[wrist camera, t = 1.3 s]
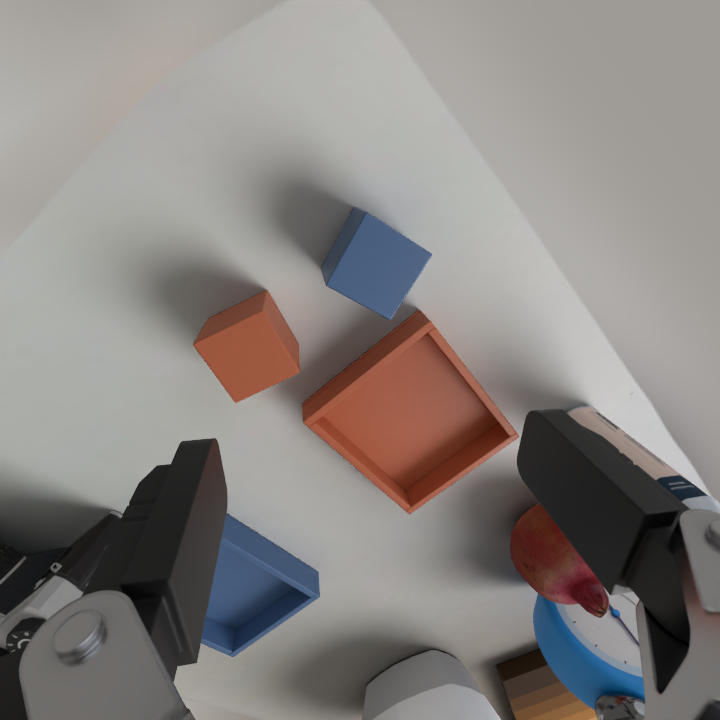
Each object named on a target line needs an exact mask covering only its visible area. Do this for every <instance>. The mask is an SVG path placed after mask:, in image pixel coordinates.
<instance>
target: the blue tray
mask: <svg viewBox="0 0 720 720" xmlns="http://www.w3.org/2000/svg"><path fill="white" fill-rule="evenodd" d="M319 597H320V591H319V574H318V572H317V571H316V570H314V569H313V568H311V567H309V566H308V565H306V564H305V563H303V562H302V561H300V560H299V559H297V558H295V557H294V556H292V555H291V554H289V553H288V552H286V551H284V550H283V549H281V548H280V547H278V546H277V545H275V544H274V543H272V542H270V541H269V540H267V539H266V538H264V537H263V536H261V535H260V534H258V533H256V532H255V531H253V530H252V529H250V528H249V527H247V526H245V525H244V524H242V523H241V522H239V521H238V520H236V519H235V518H233V517H231V516H230V515H228V514H227V513H226V519H225V524H224V529H223V534H222V539H221V544H220V549H219V554H218V559H217V564H216V569H215V574H214V579H213V584H212V589H211V594H210V599H209V604H208V609H207V614H206V619H205V624H204V629H203V634H202V639H201V643H202V644H204V645H206V646H208V647H211V648H213V649H215V650H218V651H220V652H222V653H224V654H227V655H229V656H231V657H234V656H235V655H237V654H238V653H240V652H241V651H243V650H244V649H245V648H247V647H248V646H250V645H251V644H253V643H254V642H255V641H257V640H258V639H260V638H261V637H263V636H264V635H266V634H267V633H268V632H270V631H271V630H273V629H274V628H276V627H277V626H279V625H280V624H281V623H283V622H284V621H286V620H287V619H289V618H290V617H292V616H293V615H294V614H296V613H297V612H299V611H300V610H302V609H303V608H304V607H306V606H307V605H309V604H310V603H312V602H313V601H315V600H316V599H317V598H319Z"/></svg>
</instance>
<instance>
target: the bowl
mask: <svg viewBox="0 0 720 720" xmlns="http://www.w3.org/2000/svg"><path fill="white" fill-rule="evenodd" d="M362 720H501V719H500V717H499V716H498V715H497V713H496V712H495V710H494V709H493V707H492V706H491V704H490V703H489V702H488V700H487V699H486V697H485V696H484V695H483V693H482V692H481V691H480V689H479V688H478V686H477V685H476V683H475V682H474V680H473V679H472V677H471V676H470V675H469V673H468V672H467V670H466V669H465V667H464V666H463V664H462V663H461V662H460V661H459V660H457V659H456V658H454V657H452V656H450V655H449V654H446V653H443V652H440V651H437V650H429V651H426V652H423V653H420V654H418V655H415V656H412V657H410V658H408V659H406V660H403V661H401V662H399V663H397V664H395V665H393V666H392V667H390V668H389V669H387V670H386V671H384V672H383V673H381V674H380V675H379V676H377V677H376V678H375V679H374V680H373V681H372V682H370V683H369V684H368V685H367V687H366V694H365V701H364V709H363V716H362Z"/></svg>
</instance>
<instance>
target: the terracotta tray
mask: <svg viewBox="0 0 720 720" xmlns="http://www.w3.org/2000/svg"><path fill="white" fill-rule="evenodd" d="M302 407H303V423H305V424H306V425H307V426H308V427H309V428H310V429H311V430H313V431H314V432H315V433H316V434H317V435H318V436H320V437H321V438H322V439H323V440H324V441H325V442H326V443H328V444H329V445H330V446H331V447H332V448H333V449H335V450H336V451H337V452H338V453H339V454H340V455H341V456H343V457H344V458H345V459H346V460H347V461H348V462H350V463H351V464H352V465H353V466H354V467H355V468H356V469H358V470H359V471H360V472H361V473H362V474H363V475H365V476H366V477H367V478H368V479H369V480H370V481H372V482H373V483H374V484H375V485H376V486H377V487H378V488H380V489H381V490H382V491H383V492H384V493H385V494H387V495H388V496H389V497H390V498H391V499H392V500H393V501H395V502H396V503H397V504H398V505H399V506H400V507H402V508H403V509H404V510H405V511H406V512H407V513H408V514H411V513H412V512H413V511H415V510H416V509H418V508H419V507H420V506H422V505H423V504H425V503H426V502H428V501H429V500H430V499H432V498H433V497H435V496H436V495H438V494H439V493H440V492H442V491H443V490H445V489H446V488H447V487H449V486H450V485H452V484H453V483H455V482H456V481H457V480H459V479H460V478H462V477H463V476H464V475H466V474H467V473H469V472H470V471H472V470H473V469H474V468H476V467H477V466H479V465H480V464H482V463H483V462H484V461H486V460H487V459H489V458H490V457H491V456H493V455H494V454H496V453H497V452H499V451H500V450H501V449H503V448H504V447H506V446H507V445H508V444H510V443H511V442H513V441H514V440H516V439H517V438H518V437H519V435H518V434H517V432H516V431H515V430H514V429H513V427H512V426H511V425H510V423H509V422H508V421H507V419H506V418H505V417H504V416H503V414H502V413H501V412H500V410H499V409H498V408H497V407H496V405H495V404H494V403H493V401H492V400H491V399H490V397H489V396H488V395H487V394H486V392H485V391H484V390H483V388H482V387H481V386H480V384H479V383H478V382H477V381H476V379H475V378H474V377H473V375H472V374H471V373H470V372H469V370H468V369H467V368H466V366H465V365H464V364H463V362H462V361H461V360H460V359H459V357H458V356H457V355H456V353H455V352H454V351H453V349H452V348H451V347H450V346H449V344H448V343H447V342H446V340H445V339H444V338H443V337H442V335H441V334H440V333H439V331H438V330H437V329H436V327H435V326H434V325H433V324H432V322H431V321H430V320H429V319H428V318H427V317H426V316H425V315H424V314H423V313H422V312H421V311H420V310H418V311H416V312H415V313H414V314H413V315H411V316H410V317H409V318H408V319H406V320H405V321H404V322H403V323H401V324H400V325H399V326H398V327H397V328H395V329H394V330H393V331H392V332H390V333H389V334H388V335H387V336H385V337H384V338H383V339H382V340H380V341H379V342H378V343H377V344H376V345H374V346H373V347H372V348H371V349H369V350H368V351H367V352H366V353H364V354H363V355H362V356H361V357H359V358H358V359H357V360H356V361H354V362H353V363H352V364H351V365H350V366H348V367H347V368H346V369H345V370H343V371H342V372H341V373H340V374H338V375H337V376H336V377H335V378H333V379H332V380H331V381H330V382H329V383H327V384H326V385H325V386H324V387H322V388H321V389H320V390H319V391H317V392H316V393H315V394H314V395H312V396H311V397H310V398H309V399H308V400H306V401H305V402H304V403H303V404H302Z"/></svg>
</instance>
